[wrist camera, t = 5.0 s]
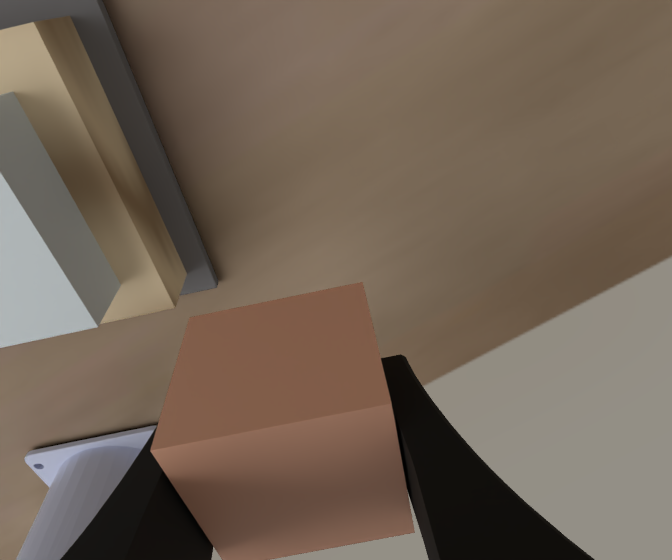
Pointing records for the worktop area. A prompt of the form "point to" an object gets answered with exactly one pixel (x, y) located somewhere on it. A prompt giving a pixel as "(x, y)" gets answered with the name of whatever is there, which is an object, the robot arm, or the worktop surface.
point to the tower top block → (43, 243)
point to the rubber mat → (127, 121)
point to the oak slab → (93, 161)
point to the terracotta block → (284, 428)
